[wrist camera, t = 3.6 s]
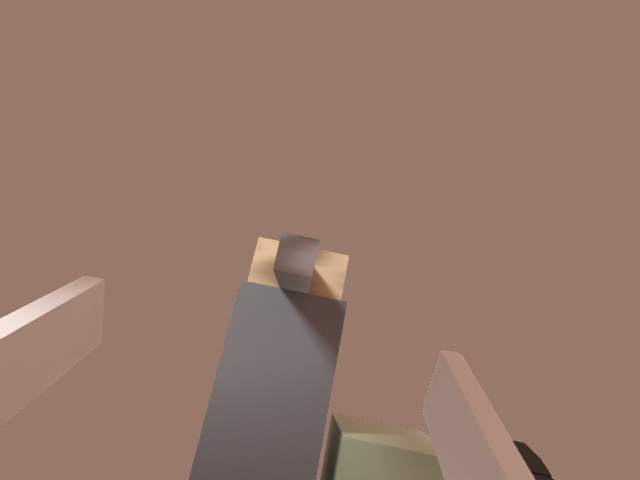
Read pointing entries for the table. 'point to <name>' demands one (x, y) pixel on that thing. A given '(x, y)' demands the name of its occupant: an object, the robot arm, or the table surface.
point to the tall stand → (271, 387)
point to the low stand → (377, 451)
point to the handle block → (299, 266)
